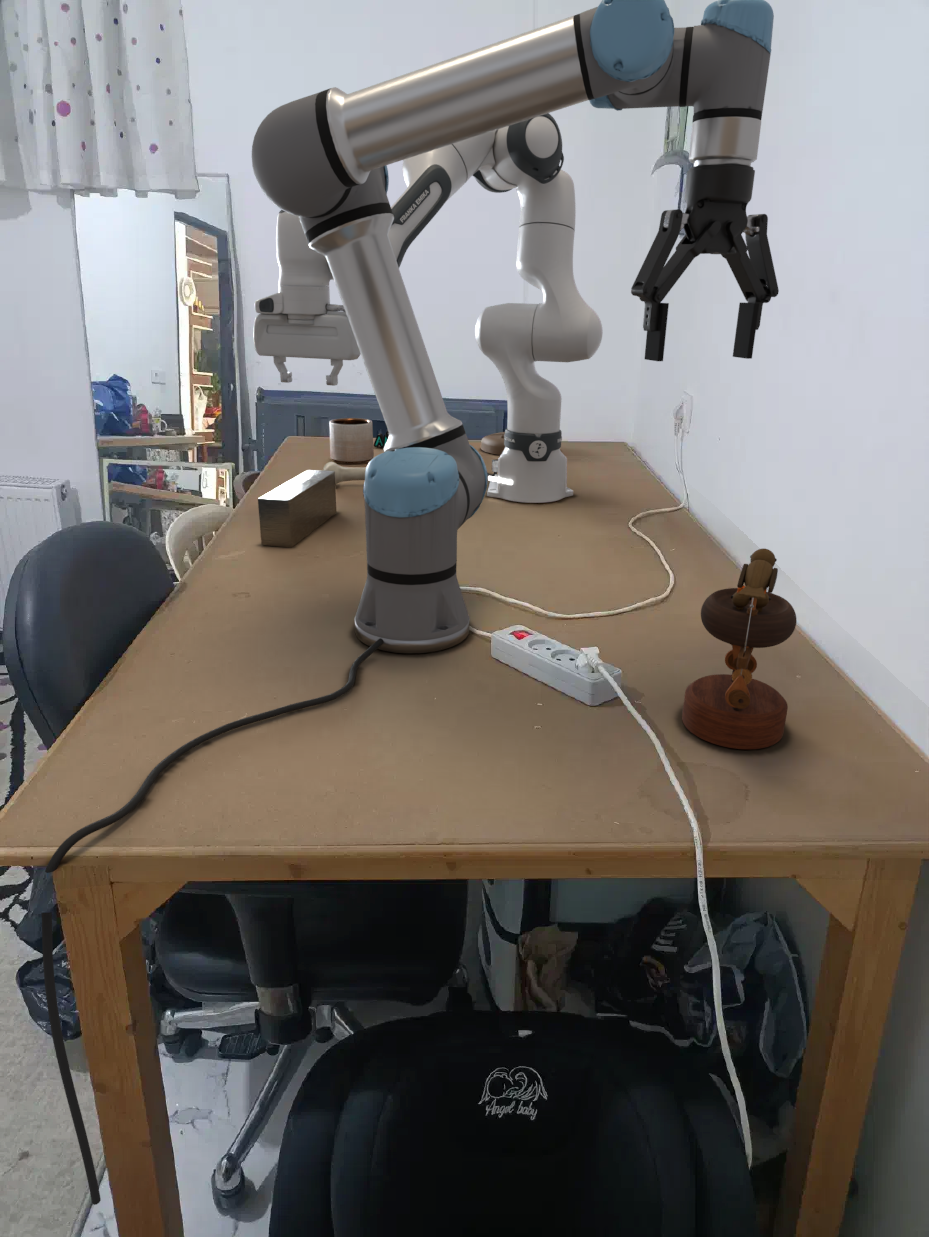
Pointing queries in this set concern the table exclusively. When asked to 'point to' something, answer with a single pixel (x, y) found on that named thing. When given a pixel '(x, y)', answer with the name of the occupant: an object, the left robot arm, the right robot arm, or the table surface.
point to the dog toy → (345, 472)
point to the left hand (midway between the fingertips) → (698, 359)
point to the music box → (742, 662)
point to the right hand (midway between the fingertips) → (309, 383)
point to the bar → (297, 508)
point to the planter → (351, 440)
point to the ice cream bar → (493, 443)
